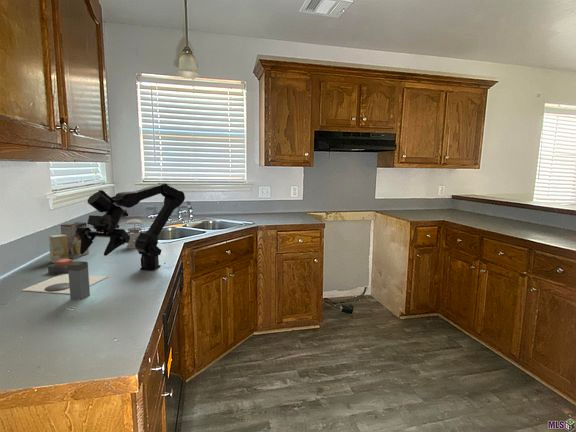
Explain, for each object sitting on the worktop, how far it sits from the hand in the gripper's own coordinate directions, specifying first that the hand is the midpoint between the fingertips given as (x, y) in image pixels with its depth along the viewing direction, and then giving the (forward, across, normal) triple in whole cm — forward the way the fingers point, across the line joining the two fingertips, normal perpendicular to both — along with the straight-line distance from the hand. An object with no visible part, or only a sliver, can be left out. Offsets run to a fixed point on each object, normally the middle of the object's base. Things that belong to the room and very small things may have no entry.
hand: (92, 254), depth 117 cm
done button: (-4, -27, +20) cm, 34 cm away
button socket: (-3, -27, +21) cm, 34 cm away
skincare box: (-11, -40, +30) cm, 51 cm away
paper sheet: (+7, -14, +12) cm, 19 cm away
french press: (-35, -23, +54) cm, 68 cm away
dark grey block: (+14, 0, +4) cm, 15 cm away
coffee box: (-18, -40, +37) cm, 57 cm away
